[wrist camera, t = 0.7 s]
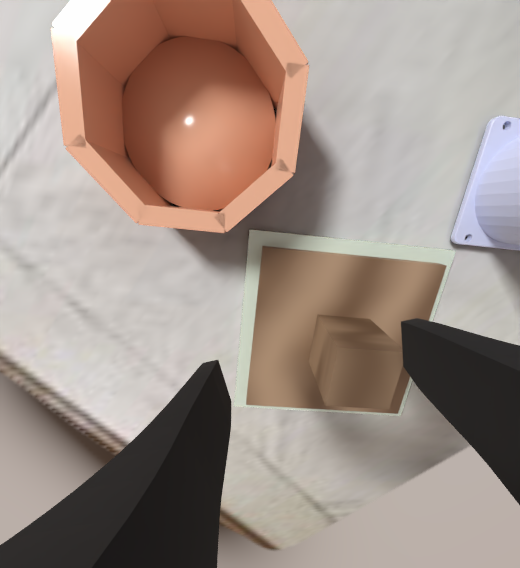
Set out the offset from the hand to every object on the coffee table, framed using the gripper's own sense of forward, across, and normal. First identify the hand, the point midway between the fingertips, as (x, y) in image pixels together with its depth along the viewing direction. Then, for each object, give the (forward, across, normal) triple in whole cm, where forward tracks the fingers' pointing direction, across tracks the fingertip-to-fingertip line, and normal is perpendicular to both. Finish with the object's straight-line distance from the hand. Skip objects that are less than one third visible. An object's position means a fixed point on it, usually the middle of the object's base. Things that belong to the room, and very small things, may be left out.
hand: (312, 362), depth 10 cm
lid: (+9, -3, +5) cm, 11 cm away
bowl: (+10, +3, -11) cm, 15 cm away
